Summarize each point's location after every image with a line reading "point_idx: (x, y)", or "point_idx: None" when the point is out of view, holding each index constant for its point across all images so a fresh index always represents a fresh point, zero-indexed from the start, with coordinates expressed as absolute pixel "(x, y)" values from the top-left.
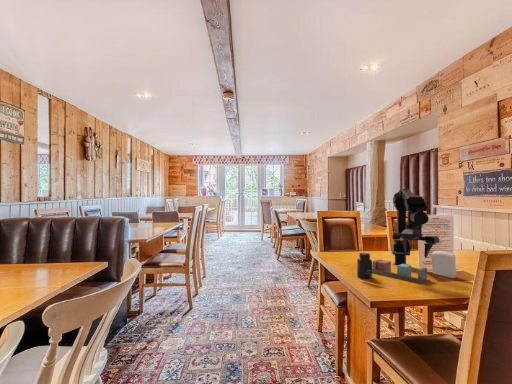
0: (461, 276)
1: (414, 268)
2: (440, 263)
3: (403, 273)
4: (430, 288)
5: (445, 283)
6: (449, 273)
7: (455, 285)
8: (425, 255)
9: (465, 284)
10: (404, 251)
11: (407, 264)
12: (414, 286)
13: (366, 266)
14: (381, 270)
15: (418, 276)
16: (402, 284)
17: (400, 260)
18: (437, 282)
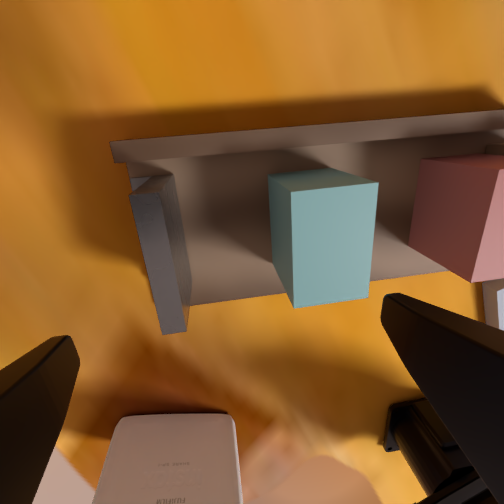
0: None
1: (342, 429)
2: (173, 496)
3: (295, 178)
4: (47, 123)
5: (85, 322)
6: (123, 441)
7: (29, 333)
8: (20, 361)
9: None
10: (421, 320)
11: (391, 449)
12: (140, 62)
13: None
14: (466, 127)
15: (162, 180)
16: (225, 28)
17: (431, 435)
18: (122, 302)
